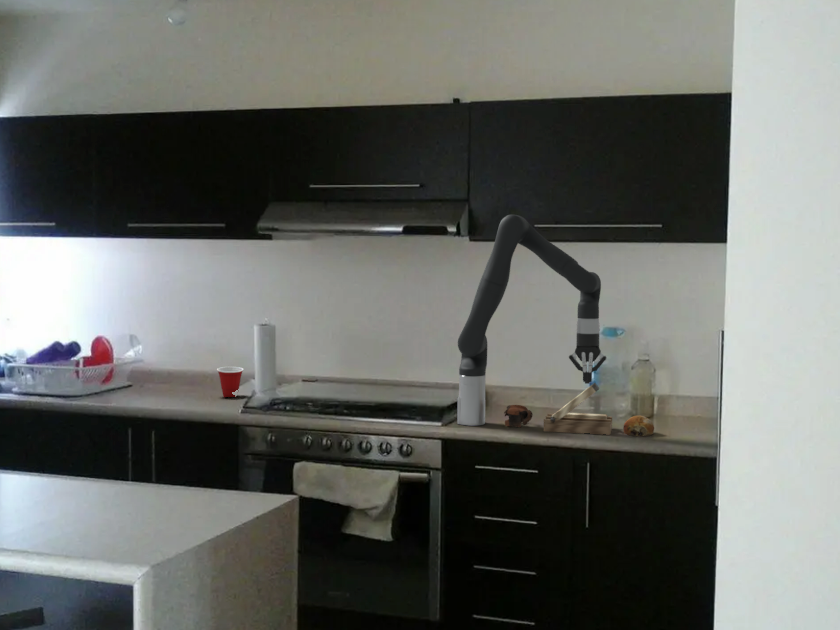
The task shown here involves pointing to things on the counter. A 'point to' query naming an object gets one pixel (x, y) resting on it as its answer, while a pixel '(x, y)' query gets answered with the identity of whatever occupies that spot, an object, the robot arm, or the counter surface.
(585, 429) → the wooden slat frame
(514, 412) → the pottery mug
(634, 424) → the bread roll
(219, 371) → the plastic cup
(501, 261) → the robot arm
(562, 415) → the hinged leg
